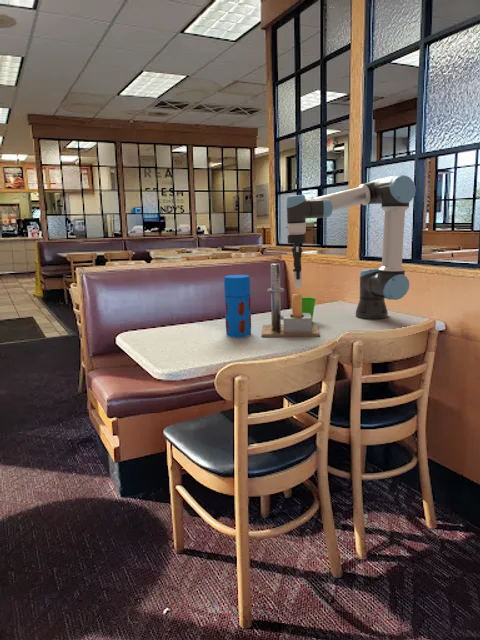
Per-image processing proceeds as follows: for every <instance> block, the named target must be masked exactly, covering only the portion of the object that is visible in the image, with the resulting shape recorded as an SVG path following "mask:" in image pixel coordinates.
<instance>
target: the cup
mask: <svg viewBox="0 0 480 640" xmlns="http://www.w3.org/2000/svg"><path fill="white" fill-rule="evenodd" d="M316 300H317V297H313V296H312V297H310V296H304V297H303V296H302V313H310V315H311V318H312V319H313V317H314V312H315V311H314V310H315V305H316Z"/></svg>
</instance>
